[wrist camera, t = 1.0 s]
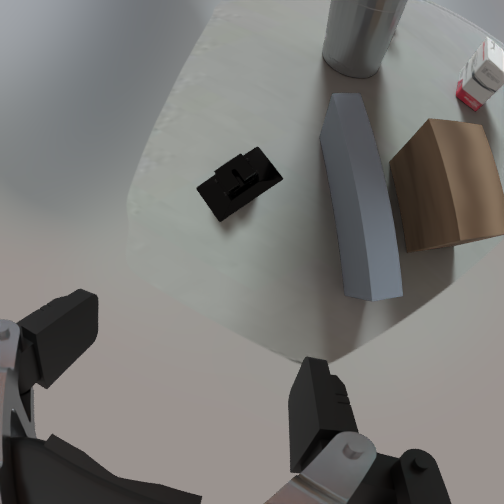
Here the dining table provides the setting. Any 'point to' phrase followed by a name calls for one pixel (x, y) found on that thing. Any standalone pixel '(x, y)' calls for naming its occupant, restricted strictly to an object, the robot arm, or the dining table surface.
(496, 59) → the ink box
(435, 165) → the walnut block
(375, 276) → the slate board
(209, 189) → the black rectangular block
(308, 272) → the dining table surface
